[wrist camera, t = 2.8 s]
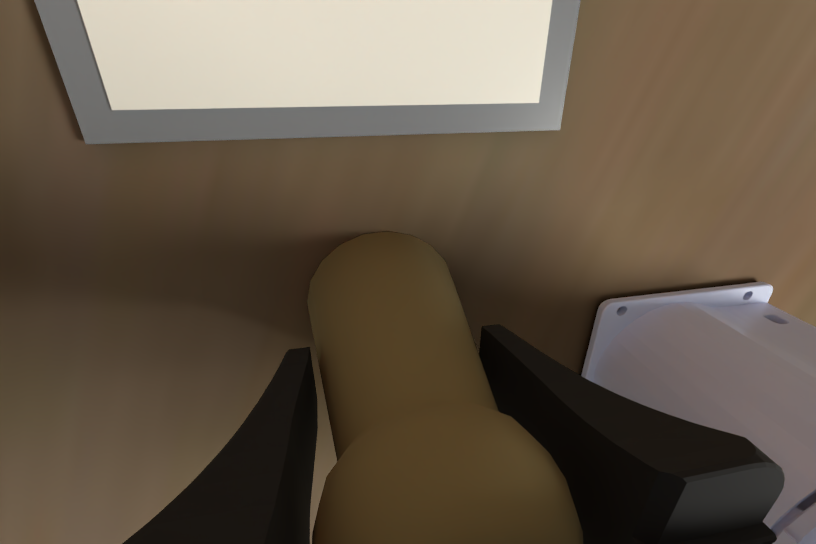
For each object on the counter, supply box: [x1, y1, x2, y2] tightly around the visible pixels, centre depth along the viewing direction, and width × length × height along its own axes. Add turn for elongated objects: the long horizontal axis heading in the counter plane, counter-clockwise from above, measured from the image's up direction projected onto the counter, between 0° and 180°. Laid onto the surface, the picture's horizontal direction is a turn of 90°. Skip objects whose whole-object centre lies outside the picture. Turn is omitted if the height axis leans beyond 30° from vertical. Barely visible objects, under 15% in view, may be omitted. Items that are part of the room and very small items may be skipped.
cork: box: [307, 231, 583, 544], centre depth 11 cm, size 6×6×11 cm
